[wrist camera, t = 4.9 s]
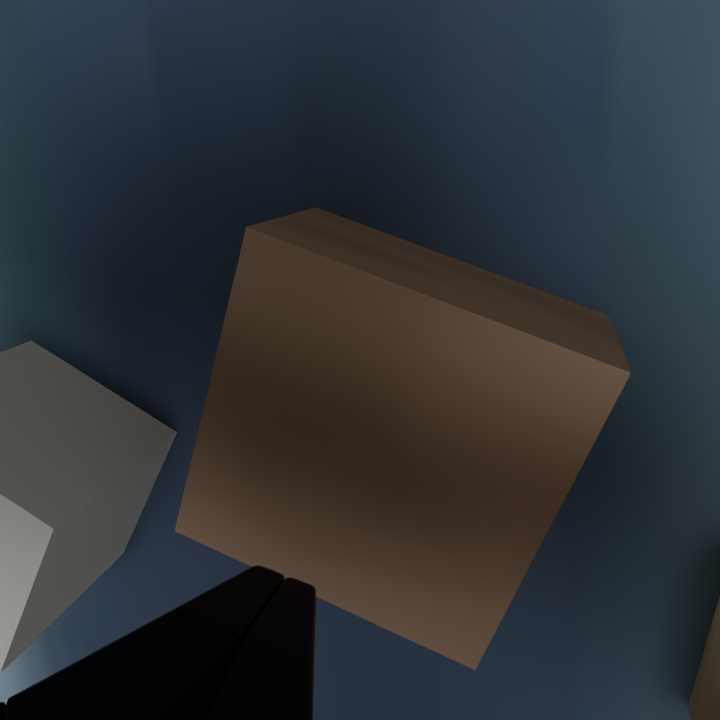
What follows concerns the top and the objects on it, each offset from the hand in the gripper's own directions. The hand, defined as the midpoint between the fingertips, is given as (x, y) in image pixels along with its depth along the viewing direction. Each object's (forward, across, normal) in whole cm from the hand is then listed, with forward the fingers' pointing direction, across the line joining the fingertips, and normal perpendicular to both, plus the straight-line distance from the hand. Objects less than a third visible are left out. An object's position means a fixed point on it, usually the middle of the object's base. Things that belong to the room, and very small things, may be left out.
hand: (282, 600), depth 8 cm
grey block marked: (+8, +9, +5) cm, 13 cm away
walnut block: (+8, 0, 0) cm, 8 cm away
